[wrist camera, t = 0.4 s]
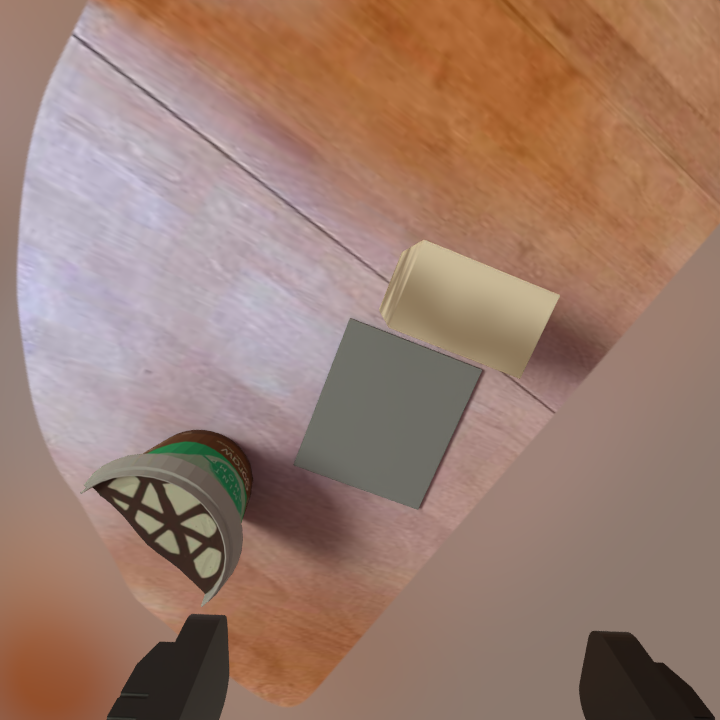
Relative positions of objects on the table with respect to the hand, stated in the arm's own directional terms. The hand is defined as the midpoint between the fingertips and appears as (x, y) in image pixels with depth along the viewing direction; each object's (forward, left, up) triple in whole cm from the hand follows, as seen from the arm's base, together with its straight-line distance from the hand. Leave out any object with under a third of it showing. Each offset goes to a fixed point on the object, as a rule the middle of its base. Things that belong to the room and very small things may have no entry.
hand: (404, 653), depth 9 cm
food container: (+12, -9, -27) cm, 31 cm away
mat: (+3, +3, -27) cm, 27 cm away
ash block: (-8, +3, -27) cm, 28 cm away
